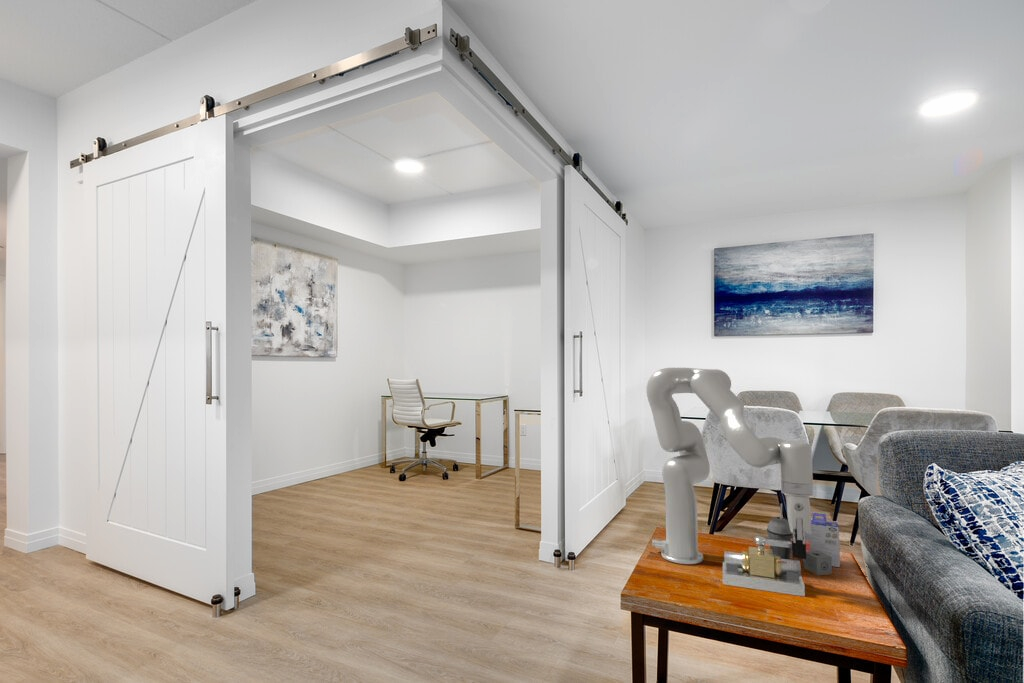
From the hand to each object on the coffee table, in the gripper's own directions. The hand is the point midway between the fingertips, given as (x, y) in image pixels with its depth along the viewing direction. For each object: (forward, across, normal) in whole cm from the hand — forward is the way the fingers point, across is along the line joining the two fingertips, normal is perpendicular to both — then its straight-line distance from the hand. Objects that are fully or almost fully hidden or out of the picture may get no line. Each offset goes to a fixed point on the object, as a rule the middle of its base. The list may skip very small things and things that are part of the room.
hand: (799, 557), depth 137 cm
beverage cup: (+10, +16, +4) cm, 19 cm away
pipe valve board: (+10, +3, +9) cm, 14 cm away
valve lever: (-1, +4, +4) cm, 5 cm away
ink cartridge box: (+10, +28, -8) cm, 31 cm away
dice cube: (+10, +20, -6) cm, 23 cm away
